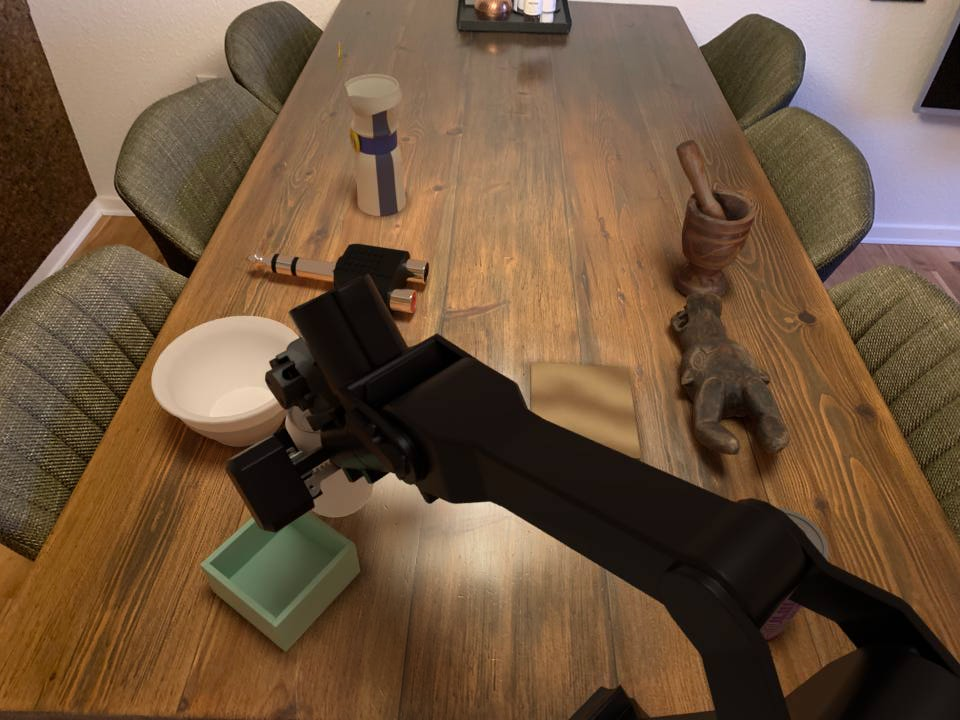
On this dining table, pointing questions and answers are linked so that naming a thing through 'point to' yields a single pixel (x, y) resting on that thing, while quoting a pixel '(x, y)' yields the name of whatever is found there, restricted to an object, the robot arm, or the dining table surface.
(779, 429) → the sculpture
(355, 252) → the audio adapter
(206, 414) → the bowl
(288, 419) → the can
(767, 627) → the beverage can
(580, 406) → the board
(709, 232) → the mortar and pestle
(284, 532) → the tote
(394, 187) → the water bottle
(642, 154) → the dining table surface
